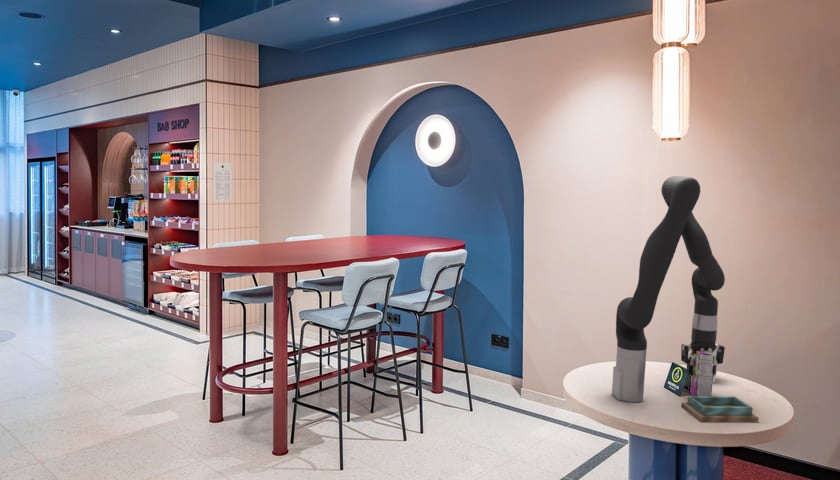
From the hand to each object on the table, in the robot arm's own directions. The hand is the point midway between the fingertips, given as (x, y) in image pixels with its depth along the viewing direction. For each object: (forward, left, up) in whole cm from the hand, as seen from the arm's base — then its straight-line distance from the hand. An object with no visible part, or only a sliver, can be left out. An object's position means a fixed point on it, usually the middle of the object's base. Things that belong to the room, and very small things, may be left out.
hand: (700, 375), depth 202 cm
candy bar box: (0, 0, -8) cm, 8 cm away
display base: (-2, -15, -7) cm, 17 cm away
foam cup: (+11, +17, -8) cm, 21 cm away
